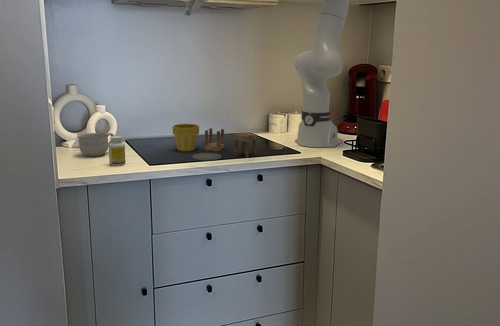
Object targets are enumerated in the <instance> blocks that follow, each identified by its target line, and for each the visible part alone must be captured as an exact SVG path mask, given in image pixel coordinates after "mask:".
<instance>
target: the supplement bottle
mask: <svg viewBox="0 0 500 326" xmlns="http://www.w3.org/2000/svg"><path fill="white" fill-rule="evenodd" d="M109 137H110V141H111V143H110V144H109V147H108V159H109V160H108V161H109V165H110V166H111V167H119V166H125V165H126V145H125V143H124V142H123V136H121V135H114V136H112V137H111V136H109Z"/></svg>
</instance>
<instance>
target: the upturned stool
mask: <svg viewBox="0 0 500 326" xmlns="http://www.w3.org/2000/svg"><path fill="white" fill-rule="evenodd" d="M223 148H224V149H225V129H224V128H221V129H220V130H217V131H216V142H213V127H212V128H211V127H210V128H209V129H208V130H204V150H205V151H209V150H212V151H211V152H221V151H222V150H223ZM220 150H221V151H220Z"/></svg>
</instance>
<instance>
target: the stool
mask: <svg viewBox="0 0 500 326" xmlns="http://www.w3.org/2000/svg"><path fill="white" fill-rule="evenodd" d="M257 138H258V137H257V133H251V132H250V133H249V132H240V133H236V134H234V148H233V149H234V151H233V152H234V154H233V155H234V156H236V157H237V156H239V141H241V143H242V144H241V145H242V146H241V150H242V151H241V154H244V158H249V157H250V155H249V154H250V153H249V152H250V148H249V147H250V142H252V155H253V156H257V140H258V139H257Z"/></svg>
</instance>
